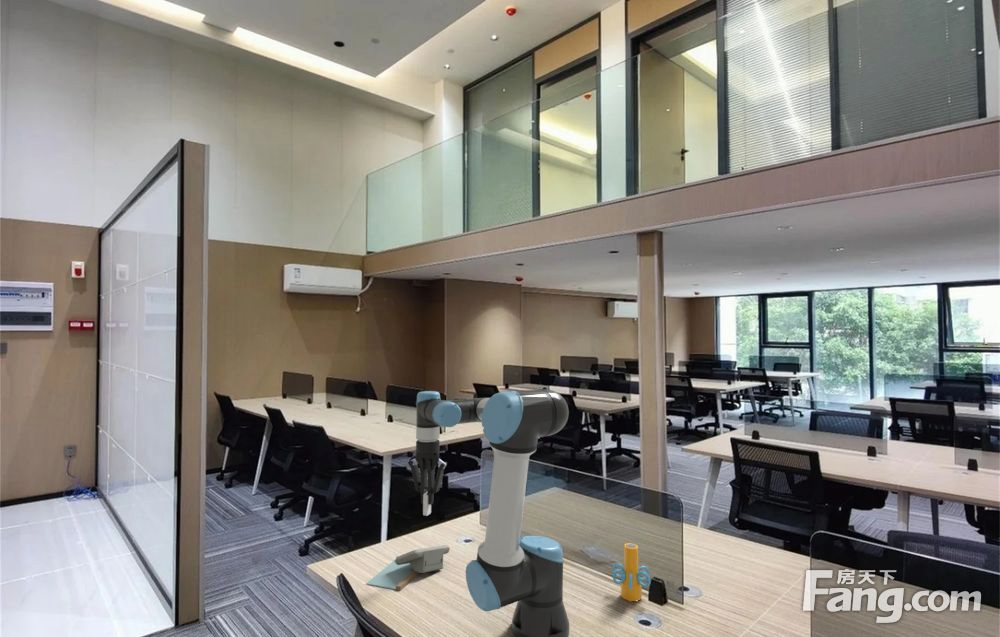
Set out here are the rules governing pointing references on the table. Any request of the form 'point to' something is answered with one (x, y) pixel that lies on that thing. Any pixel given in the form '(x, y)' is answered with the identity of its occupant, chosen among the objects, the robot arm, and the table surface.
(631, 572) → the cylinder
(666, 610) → the table surface
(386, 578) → the mat
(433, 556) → the digital clock
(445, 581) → the table surface
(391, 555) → the table surface
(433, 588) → the table surface
